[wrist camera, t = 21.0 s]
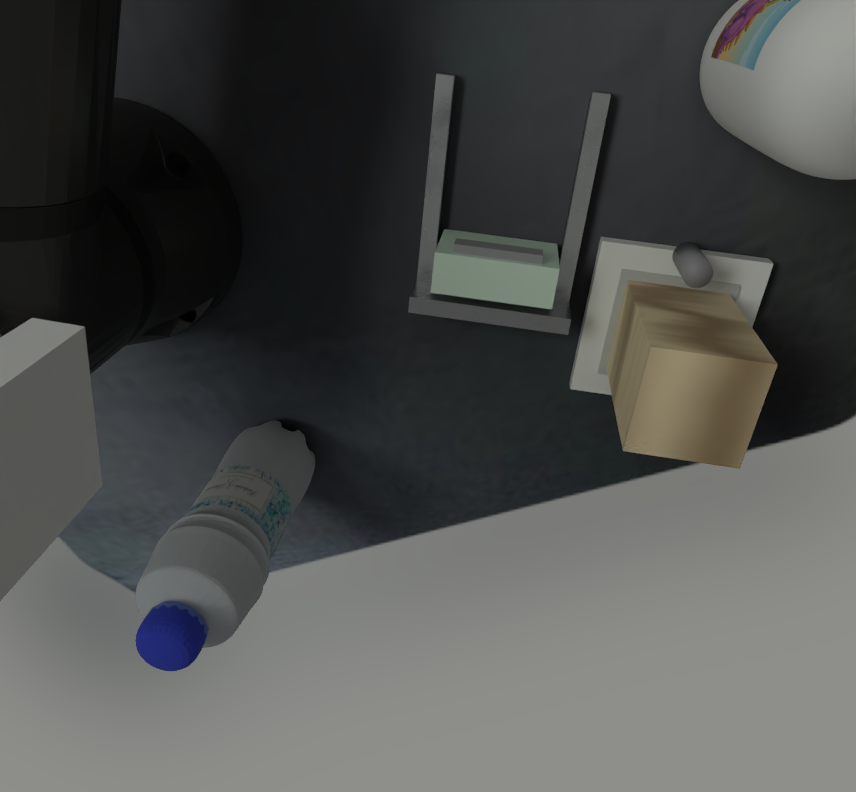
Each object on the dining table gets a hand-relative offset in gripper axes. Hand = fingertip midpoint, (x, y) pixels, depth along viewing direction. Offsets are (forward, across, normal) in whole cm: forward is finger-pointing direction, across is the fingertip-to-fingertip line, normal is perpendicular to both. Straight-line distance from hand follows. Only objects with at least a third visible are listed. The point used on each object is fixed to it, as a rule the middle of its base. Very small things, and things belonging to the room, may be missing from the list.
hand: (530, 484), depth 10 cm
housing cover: (+36, 0, -8) cm, 37 cm away
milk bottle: (+36, +12, +5) cm, 38 cm away
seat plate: (+36, +11, -10) cm, 39 cm away
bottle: (+36, -14, -25) cm, 46 cm away
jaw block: (+34, +11, -10) cm, 37 cm away
